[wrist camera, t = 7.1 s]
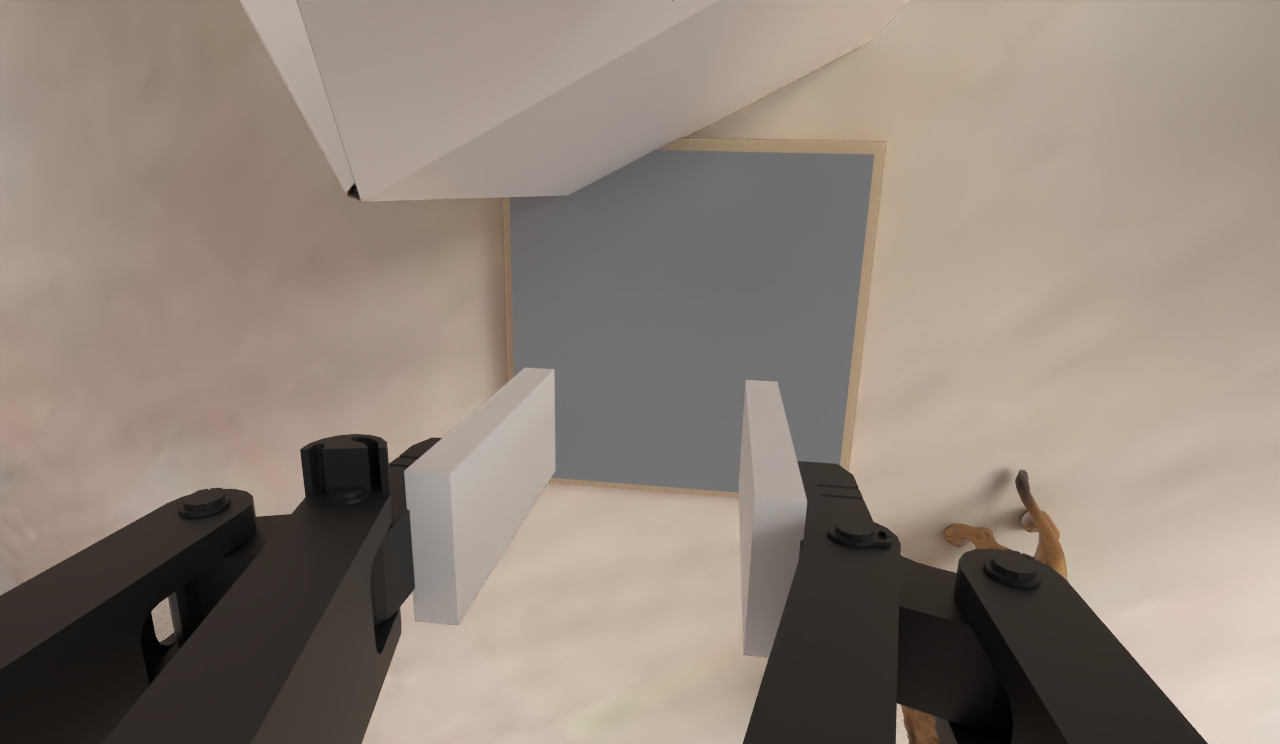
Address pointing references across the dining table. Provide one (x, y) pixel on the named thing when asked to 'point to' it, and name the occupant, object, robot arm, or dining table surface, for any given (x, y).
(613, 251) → the pad
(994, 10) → the dining table surface
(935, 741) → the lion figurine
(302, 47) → the gable box
